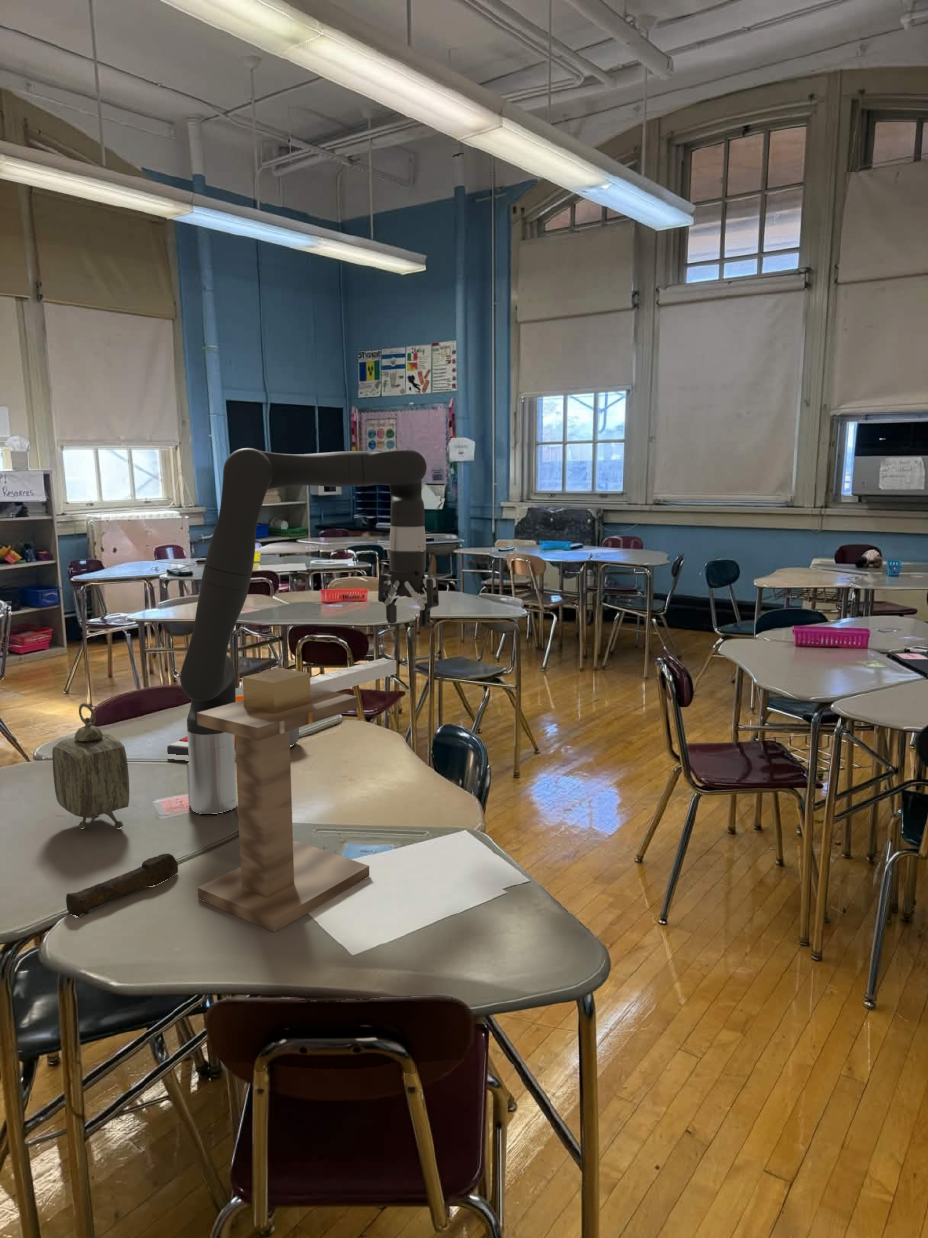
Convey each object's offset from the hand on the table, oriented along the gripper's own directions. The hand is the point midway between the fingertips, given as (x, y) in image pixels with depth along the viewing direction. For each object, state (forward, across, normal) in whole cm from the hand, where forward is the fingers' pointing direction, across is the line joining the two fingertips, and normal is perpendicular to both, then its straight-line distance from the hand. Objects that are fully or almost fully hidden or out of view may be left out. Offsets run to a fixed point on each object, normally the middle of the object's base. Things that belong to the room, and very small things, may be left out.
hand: (408, 625), depth 175 cm
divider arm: (+6, +8, -32) cm, 34 cm away
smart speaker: (+38, -49, +9) cm, 63 cm away
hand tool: (+39, -13, -61) cm, 73 cm away
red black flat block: (+39, -61, -6) cm, 73 cm away
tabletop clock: (+38, -42, -48) cm, 74 cm away
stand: (+38, +8, -44) cm, 59 cm away
